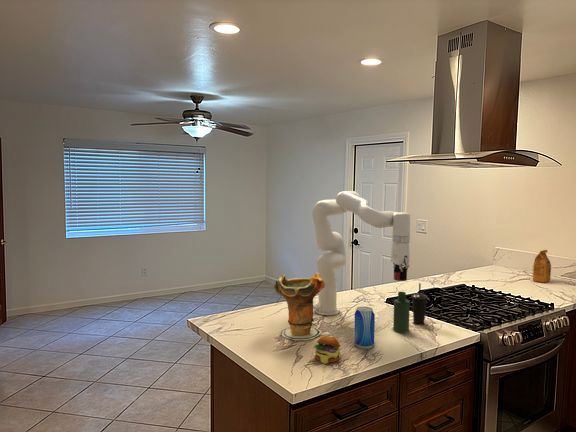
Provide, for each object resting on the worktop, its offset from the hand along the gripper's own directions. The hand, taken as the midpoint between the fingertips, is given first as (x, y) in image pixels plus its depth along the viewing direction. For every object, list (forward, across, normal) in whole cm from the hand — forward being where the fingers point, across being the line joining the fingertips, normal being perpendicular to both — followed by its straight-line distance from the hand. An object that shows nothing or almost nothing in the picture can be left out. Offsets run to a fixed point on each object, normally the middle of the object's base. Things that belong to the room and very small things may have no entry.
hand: (400, 278), depth 190 cm
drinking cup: (+26, -9, +15) cm, 31 cm away
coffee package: (+26, -73, +142) cm, 162 cm away
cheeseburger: (+26, +22, -41) cm, 53 cm away
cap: (+1, 0, 0) cm, 1 cm away
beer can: (+26, +13, -22) cm, 36 cm away
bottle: (+25, -2, +2) cm, 26 cm away
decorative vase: (+26, -6, -46) cm, 53 cm away
